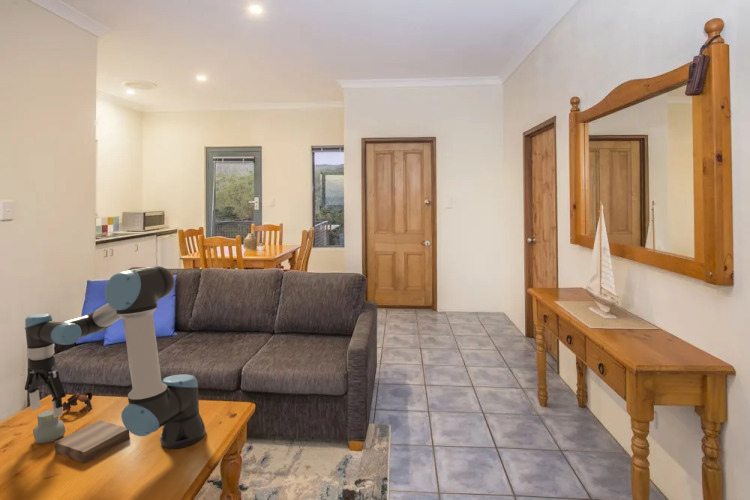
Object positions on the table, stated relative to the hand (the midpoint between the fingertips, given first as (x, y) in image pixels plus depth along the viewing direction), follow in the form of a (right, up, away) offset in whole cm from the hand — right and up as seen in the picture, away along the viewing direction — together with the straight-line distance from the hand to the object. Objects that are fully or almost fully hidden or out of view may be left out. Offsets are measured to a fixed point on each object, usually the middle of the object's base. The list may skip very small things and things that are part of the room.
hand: (46, 412), depth 151 cm
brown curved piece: (-4, -8, +24) cm, 25 cm away
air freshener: (+1, -10, +1) cm, 11 cm away
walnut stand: (+20, -10, -4) cm, 23 cm away
